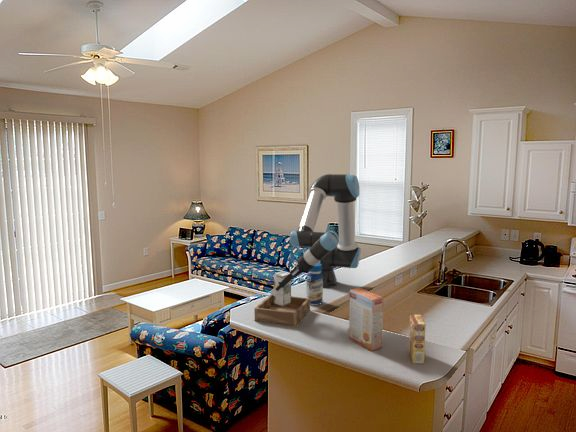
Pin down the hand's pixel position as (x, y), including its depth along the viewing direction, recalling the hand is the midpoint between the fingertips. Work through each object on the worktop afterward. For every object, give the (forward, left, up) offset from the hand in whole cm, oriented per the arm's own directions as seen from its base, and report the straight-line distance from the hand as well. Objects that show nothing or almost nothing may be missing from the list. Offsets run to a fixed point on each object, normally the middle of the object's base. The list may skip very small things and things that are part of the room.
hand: (275, 291), depth 196 cm
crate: (0, +4, -12) cm, 12 cm away
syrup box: (0, +4, -6) cm, 7 cm away
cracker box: (+15, +45, -12) cm, 48 cm away
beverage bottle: (-21, +13, -12) cm, 27 cm away
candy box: (+21, +65, -12) cm, 69 cm away
